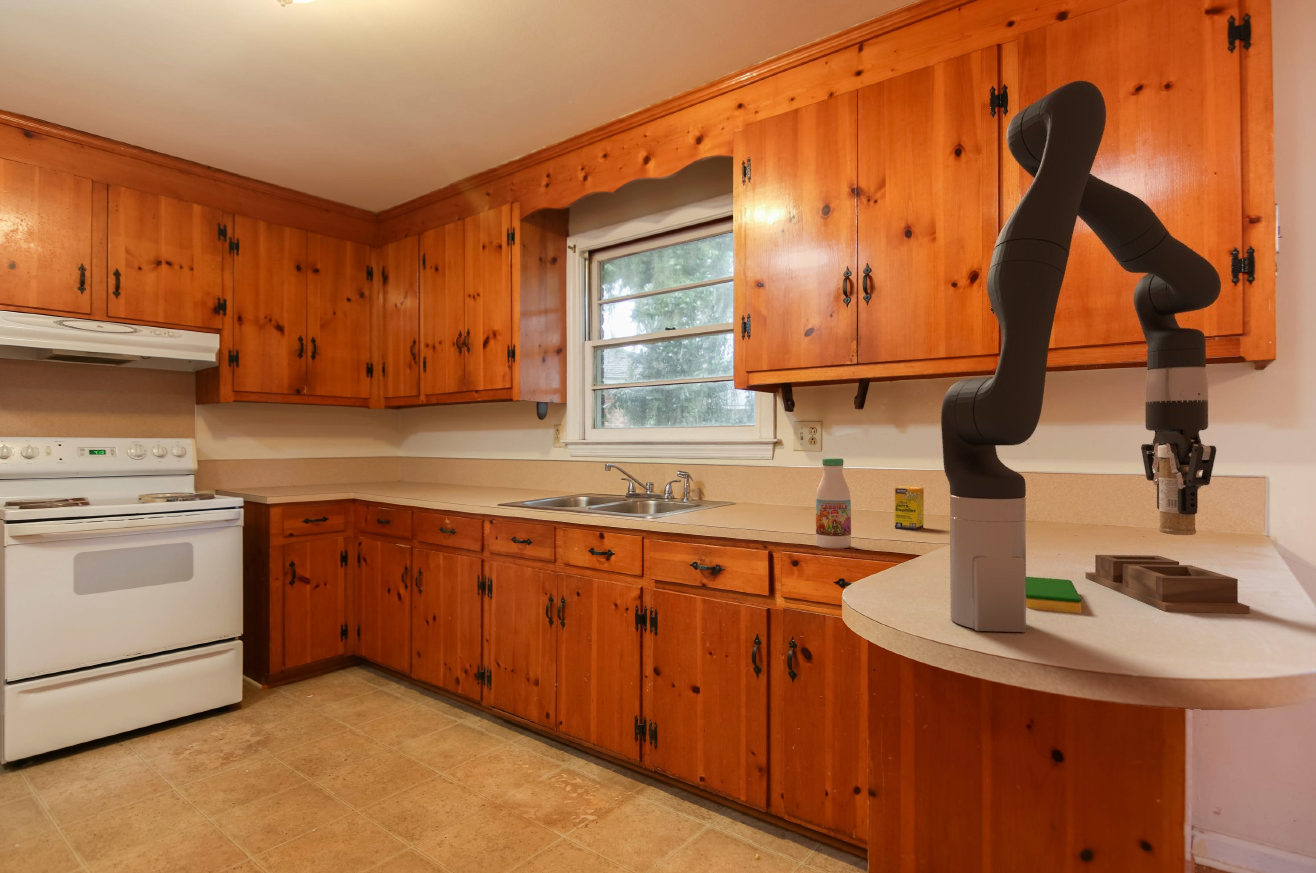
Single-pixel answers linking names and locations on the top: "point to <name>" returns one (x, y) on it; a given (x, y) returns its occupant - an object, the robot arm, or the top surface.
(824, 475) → the milk bottle
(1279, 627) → the top surface
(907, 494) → the supplement box
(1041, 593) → the dish sponge
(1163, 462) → the sprinkles bottle
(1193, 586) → the socket holder
